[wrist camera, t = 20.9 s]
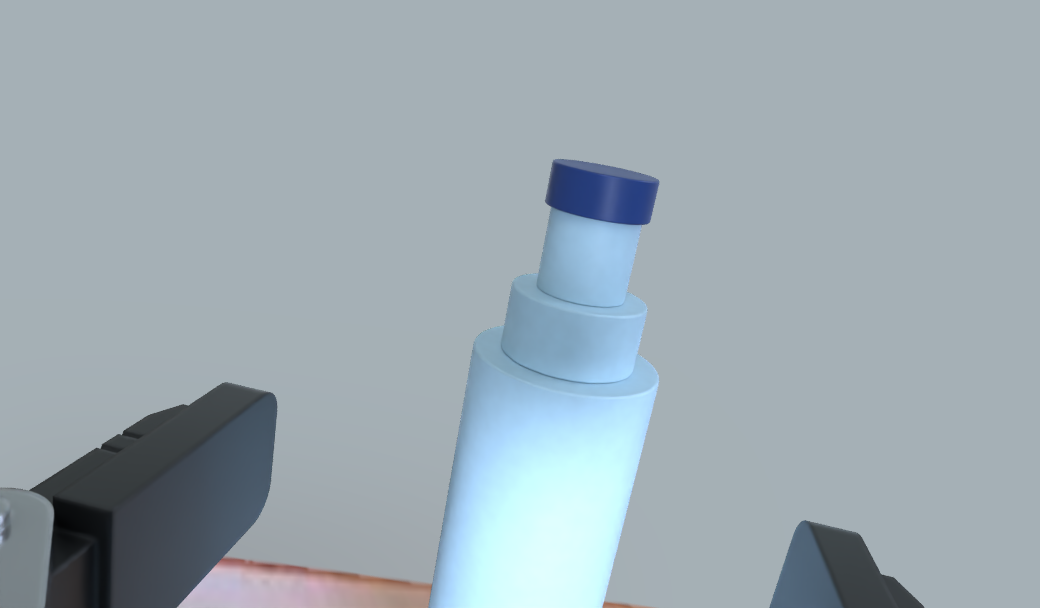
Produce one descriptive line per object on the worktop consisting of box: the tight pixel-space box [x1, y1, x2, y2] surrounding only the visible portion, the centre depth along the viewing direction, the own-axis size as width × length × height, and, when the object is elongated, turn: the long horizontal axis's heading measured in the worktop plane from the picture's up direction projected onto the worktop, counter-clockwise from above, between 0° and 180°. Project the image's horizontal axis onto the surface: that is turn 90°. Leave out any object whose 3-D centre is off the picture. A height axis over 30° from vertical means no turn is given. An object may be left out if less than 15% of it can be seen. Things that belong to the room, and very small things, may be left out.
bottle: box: [428, 159, 659, 608], centre depth 23 cm, size 6×6×20 cm
